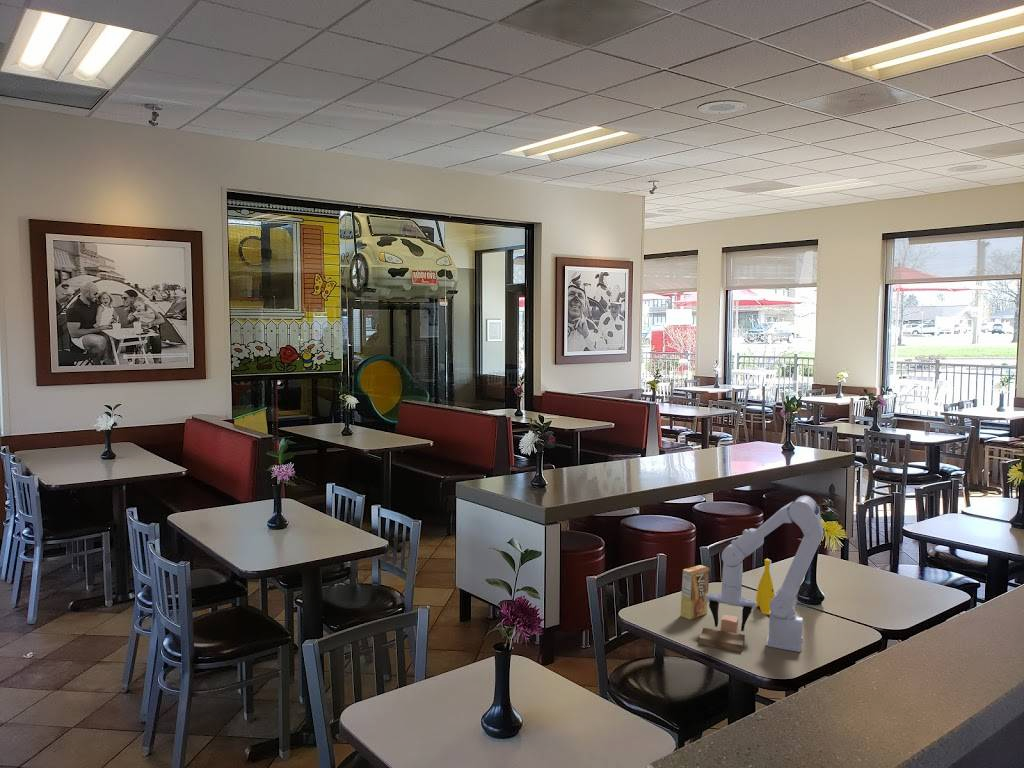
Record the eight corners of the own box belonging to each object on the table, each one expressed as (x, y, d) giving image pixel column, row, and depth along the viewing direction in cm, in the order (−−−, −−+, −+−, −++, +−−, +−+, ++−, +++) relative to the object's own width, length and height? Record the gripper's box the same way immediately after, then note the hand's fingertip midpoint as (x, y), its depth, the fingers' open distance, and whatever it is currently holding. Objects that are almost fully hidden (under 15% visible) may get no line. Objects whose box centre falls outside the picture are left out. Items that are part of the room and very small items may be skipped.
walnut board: (744, 641, 226) (745, 634, 226) (741, 652, 219) (742, 645, 219) (703, 634, 231) (703, 627, 231) (699, 644, 224) (699, 637, 223)
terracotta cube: (737, 631, 234) (738, 616, 234) (735, 636, 230) (736, 622, 230) (722, 628, 236) (723, 614, 236) (720, 634, 232) (721, 619, 231)
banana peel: (786, 602, 260) (789, 554, 258) (779, 622, 243) (783, 570, 241) (736, 594, 267) (739, 546, 265) (726, 612, 250) (729, 561, 248)
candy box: (696, 610, 250) (699, 564, 249) (707, 614, 247) (710, 567, 246) (679, 616, 245) (682, 569, 243) (690, 620, 241) (692, 572, 240)
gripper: (758, 583, 233) (755, 627, 234) (709, 576, 238) (706, 618, 239) (756, 591, 226) (753, 635, 227) (705, 583, 232) (703, 627, 233)
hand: (729, 627), depth 233 cm, fingers open, 7 cm apart
